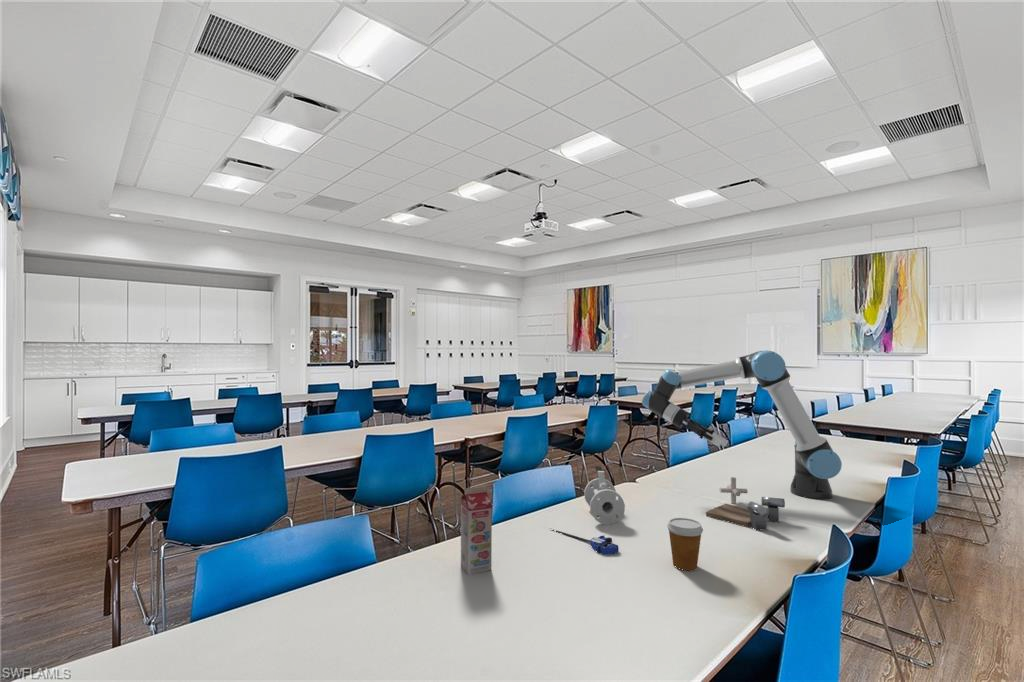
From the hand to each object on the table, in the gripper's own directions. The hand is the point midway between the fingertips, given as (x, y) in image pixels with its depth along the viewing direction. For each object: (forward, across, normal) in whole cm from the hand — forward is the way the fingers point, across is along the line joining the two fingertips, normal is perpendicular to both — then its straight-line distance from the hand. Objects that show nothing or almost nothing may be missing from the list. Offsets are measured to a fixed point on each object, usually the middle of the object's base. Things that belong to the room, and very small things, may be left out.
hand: (723, 444), depth 198 cm
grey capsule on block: (+28, +10, -13) cm, 33 cm away
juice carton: (-24, +98, -55) cm, 115 cm away
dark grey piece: (+26, +22, -16) cm, 38 cm away
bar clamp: (-14, +62, -45) cm, 78 cm away
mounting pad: (+18, +13, -19) cm, 29 cm away
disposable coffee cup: (+17, +65, -29) cm, 73 cm away
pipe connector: (+14, -3, -19) cm, 23 cm away
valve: (-18, +37, -42) cm, 58 cm away
